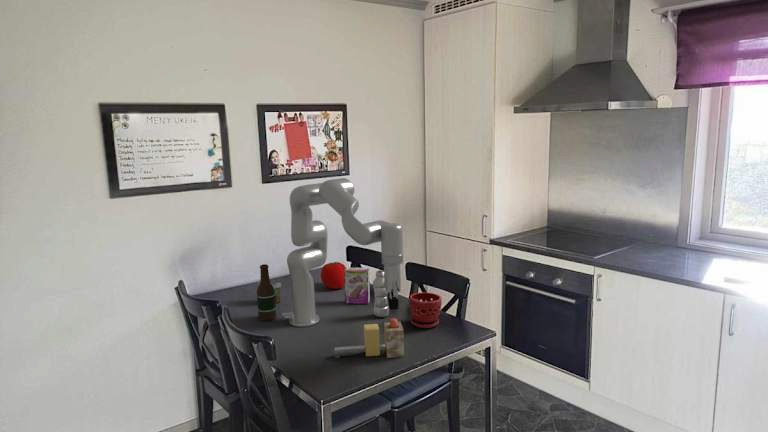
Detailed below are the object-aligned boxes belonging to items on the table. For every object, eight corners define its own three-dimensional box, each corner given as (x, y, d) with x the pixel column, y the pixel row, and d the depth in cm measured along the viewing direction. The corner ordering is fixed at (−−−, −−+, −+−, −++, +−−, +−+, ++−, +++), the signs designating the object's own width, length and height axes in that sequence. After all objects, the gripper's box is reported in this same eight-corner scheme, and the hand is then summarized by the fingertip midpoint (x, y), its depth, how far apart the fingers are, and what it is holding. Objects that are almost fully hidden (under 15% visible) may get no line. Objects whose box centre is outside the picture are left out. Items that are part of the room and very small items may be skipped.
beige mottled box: (387, 358, 179) (386, 331, 177) (384, 348, 187) (384, 322, 185) (404, 357, 179) (403, 330, 178) (400, 347, 188) (400, 321, 186)
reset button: (390, 332, 180) (390, 321, 180) (389, 329, 183) (389, 318, 182) (398, 332, 181) (397, 320, 180) (397, 328, 184) (396, 317, 183)
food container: (253, 303, 238) (251, 283, 236) (260, 299, 243) (259, 279, 242) (275, 306, 233) (273, 286, 231) (282, 302, 239) (281, 282, 237)
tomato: (347, 292, 252) (346, 265, 249) (319, 292, 252) (318, 266, 250) (349, 282, 267) (348, 257, 265) (323, 283, 267) (322, 257, 265)
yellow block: (365, 356, 180) (365, 330, 178) (364, 350, 185) (363, 324, 183) (379, 355, 180) (379, 329, 178) (378, 349, 185) (377, 323, 184)
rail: (334, 358, 180) (334, 350, 179) (334, 355, 182) (334, 347, 182) (387, 354, 182) (387, 346, 181) (386, 351, 184) (386, 343, 184)
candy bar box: (345, 304, 234) (343, 270, 231) (346, 300, 239) (345, 267, 236) (368, 304, 233) (367, 270, 230) (370, 300, 238) (369, 267, 235)
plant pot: (432, 332, 200) (432, 303, 198) (404, 326, 207) (403, 298, 205) (446, 321, 211) (446, 294, 209) (419, 316, 218) (418, 289, 216)
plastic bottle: (387, 319, 215) (386, 274, 211) (372, 318, 216) (370, 273, 213) (390, 313, 221) (389, 269, 218) (375, 313, 222) (374, 269, 219)
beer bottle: (259, 315, 222) (256, 263, 218) (277, 314, 223) (274, 262, 219) (257, 322, 215) (253, 268, 211) (275, 321, 215) (272, 267, 211)
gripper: (379, 254, 184) (380, 302, 187) (384, 265, 170) (385, 317, 173) (399, 253, 185) (400, 301, 188) (406, 263, 170) (407, 315, 174)
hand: (393, 308), depth 180 cm, fingers closed
